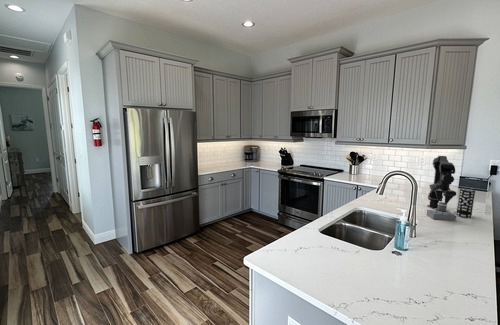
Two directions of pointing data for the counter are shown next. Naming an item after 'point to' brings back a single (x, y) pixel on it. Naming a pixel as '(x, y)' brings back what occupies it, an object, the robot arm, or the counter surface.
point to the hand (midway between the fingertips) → (442, 201)
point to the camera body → (441, 215)
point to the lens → (441, 207)
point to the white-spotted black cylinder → (465, 203)
